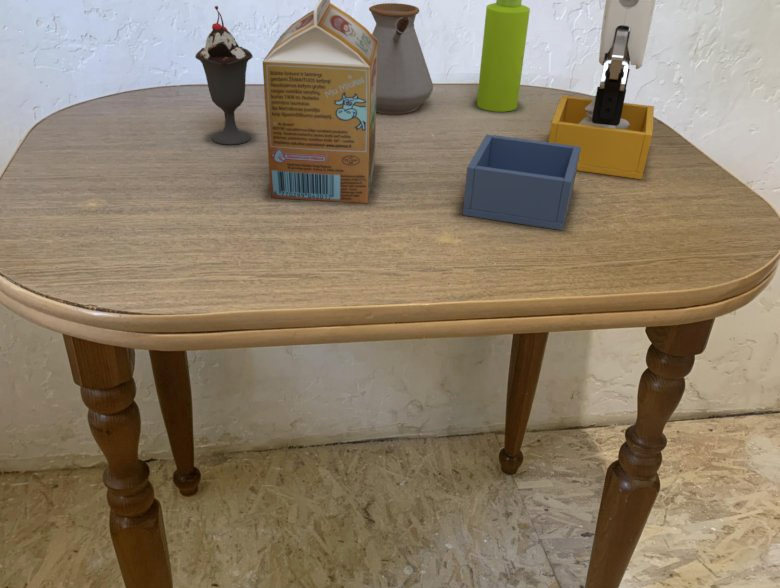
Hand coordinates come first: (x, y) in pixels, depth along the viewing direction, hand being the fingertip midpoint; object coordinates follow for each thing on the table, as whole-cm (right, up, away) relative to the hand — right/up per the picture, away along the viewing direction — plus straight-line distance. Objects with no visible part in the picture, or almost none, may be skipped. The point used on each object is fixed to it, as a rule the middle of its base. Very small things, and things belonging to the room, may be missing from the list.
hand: (607, 111), depth 94 cm
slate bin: (-12, -13, -9) cm, 20 cm away
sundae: (-47, -2, +4) cm, 47 cm away
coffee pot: (-26, +4, +13) cm, 29 cm away
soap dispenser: (-10, +8, +19) cm, 23 cm away
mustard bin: (0, -4, +4) cm, 6 cm away
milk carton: (-34, -10, -6) cm, 36 cm away
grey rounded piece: (0, -4, +3) cm, 5 cm away
